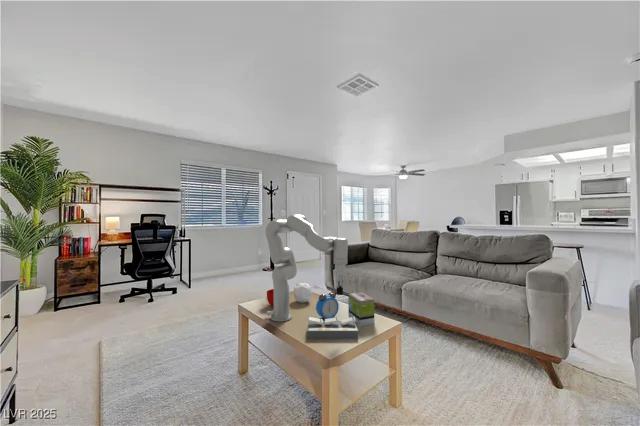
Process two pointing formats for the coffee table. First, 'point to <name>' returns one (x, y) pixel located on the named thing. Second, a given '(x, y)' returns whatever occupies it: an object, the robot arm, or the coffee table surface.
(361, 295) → the tea box
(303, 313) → the coffee table surface
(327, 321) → the plate
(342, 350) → the coffee table surface
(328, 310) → the alarm clock
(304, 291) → the geodesic sphere
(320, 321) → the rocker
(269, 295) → the ceramic cup
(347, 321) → the rocker
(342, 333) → the switch console
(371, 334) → the coffee table surface
